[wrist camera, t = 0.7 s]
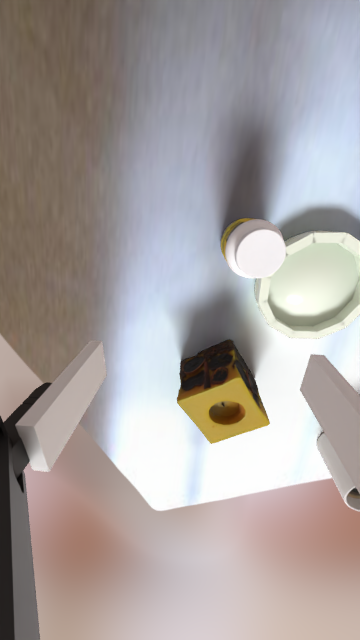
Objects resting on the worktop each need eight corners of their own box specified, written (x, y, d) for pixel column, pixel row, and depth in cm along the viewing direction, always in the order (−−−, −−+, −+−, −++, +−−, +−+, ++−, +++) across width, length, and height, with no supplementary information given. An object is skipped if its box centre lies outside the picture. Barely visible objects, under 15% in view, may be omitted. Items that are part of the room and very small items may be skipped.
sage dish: (262, 230, 31) (267, 231, 28) (379, 230, 30) (396, 231, 27) (249, 329, 37) (252, 337, 35) (345, 332, 36) (356, 340, 33)
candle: (179, 360, 41) (173, 401, 32) (230, 336, 38) (240, 374, 29) (207, 398, 44) (208, 446, 35) (256, 379, 41) (271, 425, 32)
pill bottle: (228, 212, 30) (241, 210, 20) (272, 224, 31) (307, 229, 20) (214, 258, 33) (219, 276, 23) (254, 269, 33) (278, 292, 23)
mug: (311, 432, 45) (339, 486, 36) (364, 420, 43) (407, 474, 34) (323, 465, 49) (351, 522, 40) (372, 456, 47) (413, 514, 38)
